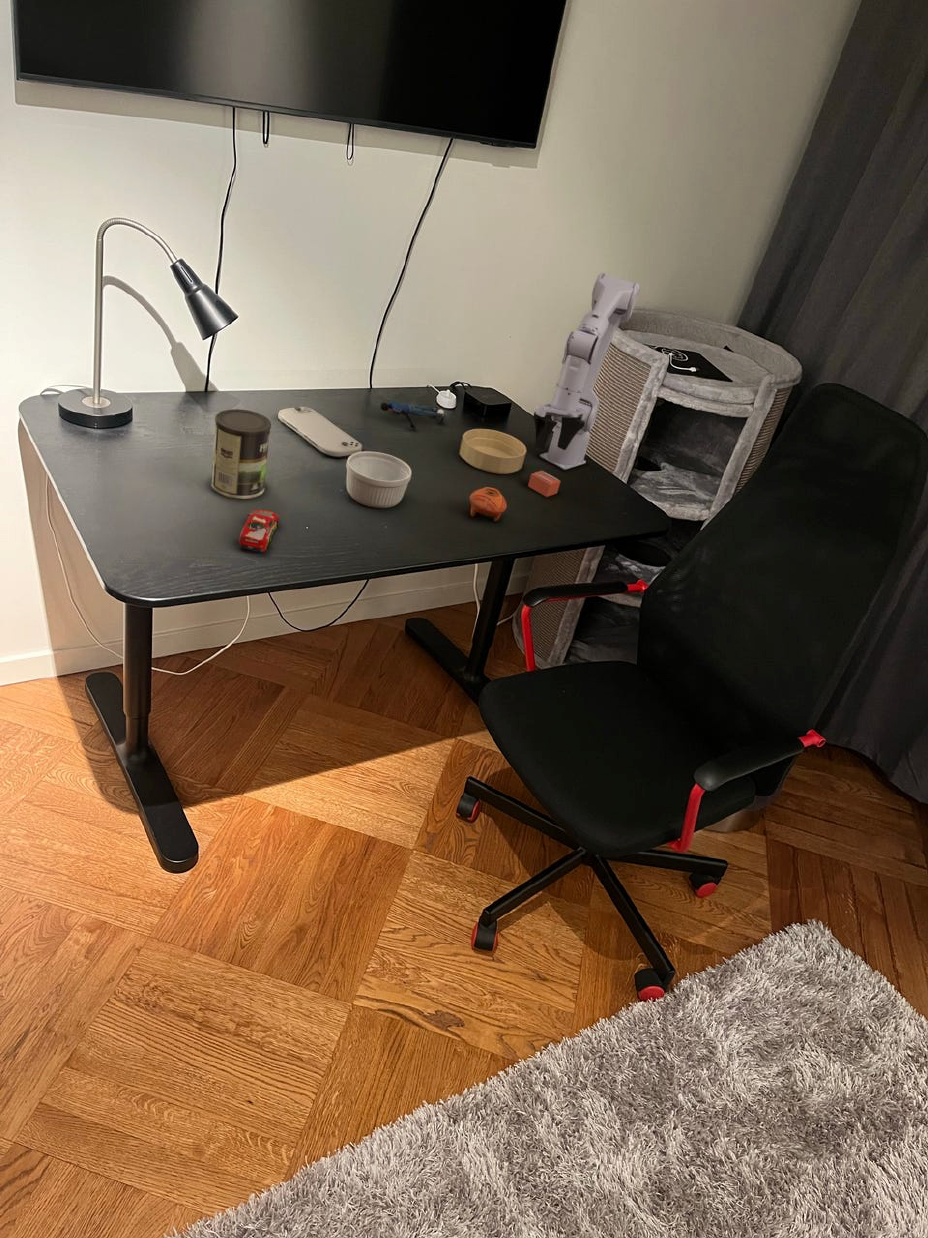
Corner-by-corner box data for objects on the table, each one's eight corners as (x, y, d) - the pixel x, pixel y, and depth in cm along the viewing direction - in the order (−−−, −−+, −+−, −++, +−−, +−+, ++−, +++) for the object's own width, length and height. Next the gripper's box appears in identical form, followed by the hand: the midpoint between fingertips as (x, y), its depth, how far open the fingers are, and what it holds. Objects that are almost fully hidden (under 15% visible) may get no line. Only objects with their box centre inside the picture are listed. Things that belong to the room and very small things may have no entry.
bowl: (487, 441, 224) (491, 424, 222) (534, 467, 217) (539, 450, 215) (445, 452, 214) (449, 434, 211) (494, 480, 207) (498, 462, 204)
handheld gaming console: (273, 406, 208) (309, 402, 214) (272, 417, 209) (308, 413, 216) (331, 449, 195) (368, 444, 202) (329, 461, 197) (366, 455, 203)
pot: (463, 501, 194) (477, 475, 191) (496, 516, 196) (510, 490, 192) (462, 518, 187) (477, 490, 184) (496, 533, 189) (511, 506, 185)
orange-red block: (538, 482, 211) (542, 468, 209) (556, 493, 208) (561, 479, 206) (527, 486, 208) (531, 472, 206) (546, 497, 205) (550, 482, 203)
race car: (252, 516, 171) (254, 497, 169) (281, 522, 171) (283, 504, 169) (233, 550, 160) (235, 530, 158) (264, 556, 160) (266, 537, 158)
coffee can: (267, 479, 184) (274, 414, 176) (261, 503, 176) (267, 435, 168) (215, 470, 182) (219, 404, 175) (206, 494, 174) (210, 425, 166)
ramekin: (415, 495, 192) (421, 465, 189) (390, 518, 182) (396, 487, 178) (358, 474, 195) (363, 444, 191) (331, 497, 184) (335, 465, 180)
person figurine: (428, 417, 234) (367, 408, 223) (433, 400, 232) (372, 391, 221) (449, 435, 226) (387, 427, 216) (455, 418, 224) (392, 410, 214)
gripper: (560, 392, 189) (541, 454, 195) (603, 396, 199) (584, 455, 205) (537, 381, 194) (518, 442, 199) (580, 385, 204) (561, 443, 209)
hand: (550, 448), depth 202 cm, fingers open, 7 cm apart
